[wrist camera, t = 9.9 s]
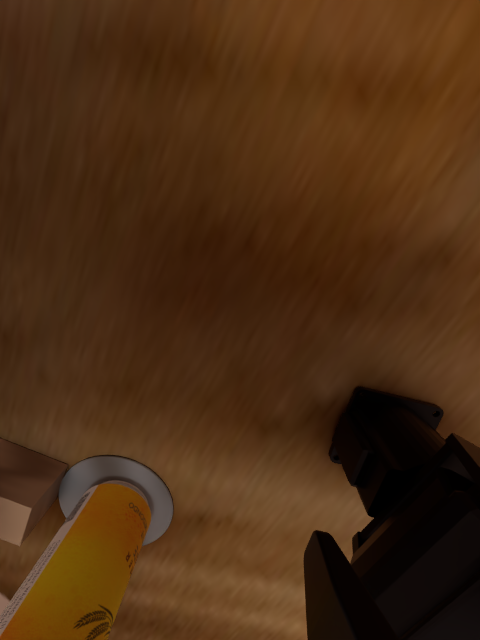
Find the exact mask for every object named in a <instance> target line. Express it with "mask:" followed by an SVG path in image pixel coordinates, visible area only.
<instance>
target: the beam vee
mask: <svg viewBox="0 0 480 640" xmlns="http://www.w3.org/2000/svg"><path fill="white" fill-rule="evenodd" d="M67 466H68V465H67V464H65V463H62V462H60V461H57V460H55V459H52V458H49V457H47V456H44V455H42V454H39V453H37V452H34V451H32V450H29V449H26V448H24V447H21V446H19V445H16V444H14V443H11V442H9V441H6V440H4V439H1V438H0V539H2V540H5V541H8V542H10V543H13V544H16V545H19V546H20V545H21V544H22V543H23V541H24V540H25V539H26V537H27V536H28V535H29V533H30V532H31V531H32V530H33V528H34V527H35V526H36V524H37V523H38V522H39V520H40V519H41V518H42V517H43V515H44V514H45V513H46V511H47V510H48V509H49V507H50V506H51V505H52V504H53V502H54V501H55V500H56V498H57V496H58V493H59V502H60V506H61V509H62V511H63V513H64V515H65V517H66V518H68V516H69V515H70V513H71V512H72V511H73V509H74V508H75V506H76V505H77V503H78V502H79V500H80V499H81V497H82V496H83V494H84V493H85V492H86V491H87V490H88V489H90V488H91V487H93V486H96V485H99V484H102V483H104V482H107V481H112V480H119V481H124V482H128V483H130V484H132V485H134V486H136V487H137V488H138V489H140V490H141V491H142V493H143V494H144V495H145V497H146V499H147V501H148V506H149V508H150V511H151V523H150V525H149V528H148V531H147V533H146V536H145V539H144V542H143V544H142V546H143V545H147V544H149V543H151V542H153V541H155V540H156V539H158V538H159V537H160V536H162V535H163V533H164V532H165V531H166V530H167V528H168V527H169V525H170V522H171V519H172V515H173V501H172V497H171V494H170V492H169V490H168V488H167V486H166V485H165V483H164V482H163V481H162V479H161V478H160V477H159V476H158V475H157V474H156V473H155V472H153V471H152V470H151V469H149V468H148V467H146V466H144V465H143V464H141V463H139V462H137V461H134V460H131V459H128V458H125V457H120V456H113V455H102V456H95V457H90V458H87V459H85V460H82V461H80V462H79V463H77V464H75V465H74V466H73V467H72V468H71V469H70V470H69V471H68V472H67V473H66V475H65V472H66V469H67ZM64 475H65V476H64Z"/></svg>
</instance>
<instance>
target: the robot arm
mask: <svg viewBox="0 0 480 640" xmlns="http://www.w3.org/2000/svg"><path fill="white" fill-rule="evenodd" d="M360 393H364V394H363V395H362V396H359V394H360ZM435 411H436V412H435ZM433 412H435V413H434V414H433ZM442 416H443V410H442V409H441V408H440V407H439V406H437V405H434V404H430V403H426V402H422V401H418V400H414V399H410V398H406V397H402V396H397V395H393V394H389V393H385V392H381V391H377V390H373V389H369V388H365V387H358V388H356V389H355V390H354V392H353V395H352V397H351V399H350V402H349V404H348V407H347V409H346V411H345V412H344V413H343V414H342V416H341V419H340V421H339V424H338V426H337V428H336V431H335V433H334V436H333V438H332V441H333V444H332V446H331V449H330V451H329V456H330V459H331V461H332V462H334V463H338V464H342V466H343V469H344V471H345V474H346V476H347V479H348V481H349V483H350V484H351V486H354V487H356V488H357V490H358V493H359V495H360V497H361V500H362V502H363V505H364V507H365V509H366V512H367V514H368V516H370V517H374V519H373V520H372V521H371V522H370V523H369V524H368V525H367V526H366V527H365V528H364V529H363V530H362V531H361V532H357V533H356V534H355V535H354V537H353V538H352V545H353V556H352V560H351V563H349V561H348V560H347V558H346V557H345V555H344V554H343V552H342V551H341V549H340V548H339V546H338V545H337V543H336V542H335V540H334V538H333V537H332V536H331V535H330V534H329V533H327V532H323V531H318V530H315V531H314V532H313V533H312V536H311V538H310V540H309V543H308V545H307V547H306V550H305V553H304V578H305V599H306V619H307V636H308V640H480V448H479V447H477V446H475V445H474V444H472V443H470V442H468V441H466V440H465V439H463V438H461V437H459V436H458V435H456V434H454V433H451V434H450V435H449V436H448V437H447V439H446V440H445V439H444V438H443V437H442V436H441V435H440V434H439V433H438V432H437V431H436V428H437V426H438V424H439V422H440V420H441V418H442ZM335 455H338V456H335Z"/></svg>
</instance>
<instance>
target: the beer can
mask: <svg viewBox="0 0 480 640" xmlns="http://www.w3.org/2000/svg"><path fill="white" fill-rule="evenodd" d="M150 523H151V511H150V508H149V506H148V501H147V499H146V497H145V495H144V494H143V493H142V491H141V490H140V489H138V488H137V487H136V486H134V485H132V484H130V483H128V482H124V481H119V480H112V481H107V482H104V483H102V484H99V485H96V486H93V487H91V488H90V489H88V490H87V491H86V492H85V493H84V494H83V496H82V497H81V499H80V500H79V502H78V503H77V505H76V506H75V508H74V509H73V511H72V512H71V513H70V515H69V516H68V518H67V519H66V521H65V522H64V524H63V525H62V527H61V528H60V529H59V531H58V532H57V534H56V535H55V537H54V538H53V540H52V541H51V543H50V544H49V546H48V547H47V548H46V550H45V551H44V553H43V554H42V556H41V557H40V559H39V560H38V562H37V563H36V564H35V566H34V567H33V569H32V570H31V572H30V573H29V575H28V576H27V578H26V579H25V581H24V582H23V583H22V585H21V586H20V588H19V589H18V591H17V592H16V594H15V595H14V597H13V598H12V600H11V601H10V602H9V604H8V605H7V607H6V608H5V610H4V611H3V613H2V614H1V616H0V640H107V638H108V636H109V633H110V630H111V627H112V625H113V622H114V619H115V617H116V614H117V611H118V609H119V606H120V603H121V601H122V598H123V595H124V593H125V590H126V587H127V585H128V582H129V579H130V576H131V574H132V571H133V568H134V566H135V563H136V560H137V558H138V555H139V552H140V550H141V547H142V544H143V542H144V539H145V536H146V533H147V531H148V528H149V525H150Z"/></svg>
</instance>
